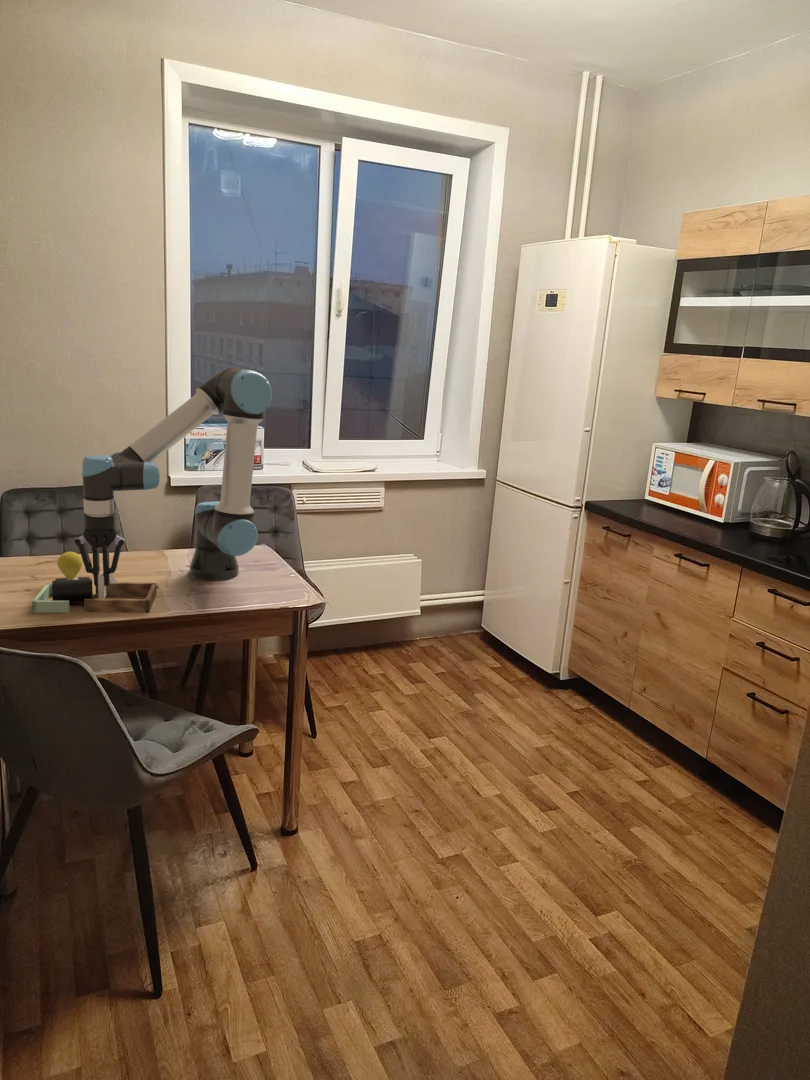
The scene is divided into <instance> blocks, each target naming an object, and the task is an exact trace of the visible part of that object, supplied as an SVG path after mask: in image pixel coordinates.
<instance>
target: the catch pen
mask: <svg viewBox="0 0 810 1080" xmlns="http://www.w3.org/2000/svg"><path fill="white" fill-rule="evenodd" d="M50 596H52V582H49V583H46V584H45V585H44V587H43V588H42V589H41V590H40V591H39V593H38V594H37V595H35V597H34V599H33V600H31V611H32V612H31V613H63V614H64V613H70V612H71V611H70V604H69V601H54V600H53V599H52V600H48V598H49V597H50Z"/></svg>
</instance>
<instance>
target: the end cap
mask: <svg viewBox="0 0 810 1080" xmlns="http://www.w3.org/2000/svg"><path fill="white" fill-rule="evenodd" d="M51 583H52V595H51V596H52V598H51V599H52V600H54V601H69V605H70V604H84V600H85V599H94V593H93V592H94V591H93V589H94V588H93V579H92V578H91V577H90V576H84V577H83V576H79V577H78V578H77V580H67V578H66V577H61V578H60V577H58V578H55V580H52V582H51Z"/></svg>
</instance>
